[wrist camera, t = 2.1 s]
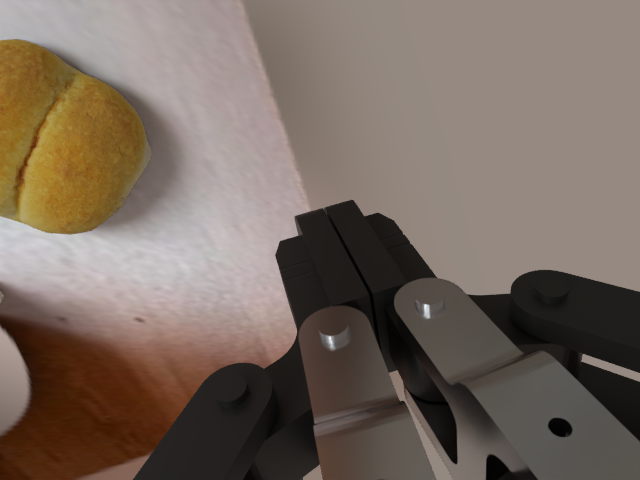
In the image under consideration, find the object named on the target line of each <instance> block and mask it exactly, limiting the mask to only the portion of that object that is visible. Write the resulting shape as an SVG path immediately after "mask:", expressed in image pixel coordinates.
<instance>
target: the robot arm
mask: <svg viewBox="0 0 640 480" xmlns="http://www.w3.org/2000/svg"><path fill="white" fill-rule="evenodd" d="M295 223H296V227H297V231H298V235H299V236H296V237H293V238H289V239H286V240H282V241H280V243H279V246H278V249H277V252H276V255H275V256H276V259H277V263H278V266H279V270H280V273H281V277H282V281H283V284H284V288H285V291H286V295H287V298H288V302H289V305H290V308H291V311H292V315H293V318H294V321H295V324H296V328H297V336H296V339H295V342H294V344H293V345H292V347H291V348H290V349H289V351H288V352H287V353H286V354H285V355H284V356H283V357H281V358H280V359H279V360H277V361H276V362H274V363H273V364H271V365H269V366H268V367H266V368H265V369H263V368H261V367H260V366H258V365H255V364H251V363H236V364H232V365H228V366H226V367H223V368H221V369H219V370H217V371H216V372H214V373H213V374H212V375H210V376H209V377H208V378H207V379H206V380H205V381H204V382H203V383H202V385H201V386H200V387H199V389H198V390H197V391H196V393H195V394H194V396H193V397H192V398H191V400H190V401H189V403H188V404H187V405H186V407H185V408H184V410H183V411H182V412H181V414H180V415H179V416H178V418H177V419H176V421H175V422H174V423H173V425H172V426H171V428H170V429H169V430H168V432H167V433H166V435H165V436H164V437H163V439H162V440H161V441H160V443H159V444H158V446H157V447H156V448H155V450H154V451H153V453H152V454H151V455H150V457H149V458H148V460H147V461H146V462H145V464H144V465H143V467H142V468H141V469H140V471H139V472H138V473H137V475H136V476H135V478H134V479H133V480H303V477H304V476H305V475H306V474H308V473H309V472H310V471H312V470H313V469H314V468H316V467H317V466H318V465H319V464H320V467H321V472H322V478H323V480H436V478H435V475H434V472H433V470H432V467H431V464H430V462H429V460H428V457H427V454H426V452H425V449H424V447H423V444H422V441H421V439H420V436H419V434H418V431H417V429H416V426H415V424H414V421H413V419H412V416H411V414H410V411H409V409H408V407H407V405H406V403H405V402H404V401H400V400H399V398H398V396H397V393H396V391H395V388H394V385H393V383H392V380H391V377H390V375H389V372H392V371H396V370H398V372H399V374H400V376H401V378H402V380H403V384H404V393H405V398H406V400H407V403H408V404H409V406H410V408H411V409H412V411H413V413H414V414H415V416H416V418H417V419H418V421H419V423H420V424H421V426H422V428H423V429H424V431H425V433H426V434H427V436H428V438H429V439H430V441H431V443H432V444H433V446H434V448H435V449H436V451H437V452H438V454H439V456H440V458H441V459H442V461H443V462H444V464H445V466H446V468H447V469H448V471H449V473H450V475H451V476H452V479H453V480H640V382H638V381H635V380H633V379H629V378H627V377H624V376H621V375H618V374H615V373H612V372H610V371H607V370H604V369H601V368H598V367H595V366H593V365H589V364H587V363H584V362H581V360H582V355H583V354H586V355H589V356H592V357H594V358H597V359H601V360H603V361H606V362H609V363H612V364H615V365H618V366H621V367H624V368H627V369H630V370H633V371H636V372H639V373H640V292H638V291H633V290H630V289H626V288H622V287H618V286H614V285H610V284H606V283H603V282H599V281H594V280H591V279H587V278H583V277H579V276H575V275H571V274H568V273H563V272H559V271H553V270H538V271H532V272H528V273H525V274H523V275H521V276H519V277H518V278H517V279H516V280H515V281H514V282H513V284H512V286H511V293H510V294H498V295H482V296H481V295H467V294H466V293H464V291H463V290H462V289H461V288H460V287H459V286H457V285H456V284H454V283H452V282H450V281H447V280H443V279H439V278H437V277H436V276H435V275H434V273H433V272H432V270H431V269H430V268H429V266H428V265H427V264H426V263H425V261H424V260H423V259H422V257H421V256H420V255H419V253H418V252H417V251H416V249H415V248H414V247H413V245H412V244H410V242H409V240H408V239H407V237H406V236H405V235H403V233H402V231H401V230H400V229H399V227H398V226H397V224H396V223H395V222H394V220H392V219H390V218H388V217H386V216H384V215H382V214H380V213H375V214H372V215H368V216H365V217H364V215H363V214H362V212H361V211H360V209H359V208H358V206H357V205H356V203H355V202H354V201H353V200H349V201H346V202H342V203H339V204H335V205H332V206H329V207H325V208H324V209H323V208H322V209H318V210H315V211H311V212H307V213H304V214H300V215H297V216H295Z"/></svg>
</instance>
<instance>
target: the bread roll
mask: <svg viewBox="0 0 640 480" xmlns="http://www.w3.org/2000/svg"><path fill="white" fill-rule="evenodd" d="M151 154H152V150H151V147H150V145H149V143H148V140H147V138H146V133H145V129H144V125H143V123H142V121H141V119H140V117H139V115H138V113H137V112H136V111H135V109H134V108H133V107H132V106H131V105H130V104H129V103H128V102H127V101H126V99H125V98H124V97H123V96H122V95H121V94H120V93H119V92H118V91H116V90H115V89H114V88H112V87H111V86H109V85H108V84H106V83H104V82H102V81H100V80H98V79H96V78H94V77H91V76H89V75H86V74H84V73H82V72H80V71H78V70H77V69H75V68H73V67H71V66H69V65H68V64H66V63H65V62H64V61H63V60H62V59H60V58H59V57H58V56H56V55H55V54H53V53H52V52H50V51H48V50H47V49H45V48H43V47H41V46H39V45H36V44H34V43H31V42H28V41H25V40H18V39H12V40H1V41H0V216H2V217H5V218H8V219H12V220H15V221H18V222H21V223H24V224H26V225H29V226H31V227H33V228H36V229H38V230H41V231H44V232H47V233H59V234H77V233H82V232H87V231H92V230H93V229H95V228H96V227H97V226H99V225H100V224H102V223H103V222H104V221H106V220H107V219H108V218H109V217H111V216H112V215H113V214H114V213H116V212H117V211H118V210H119V209H120V208H121V207H122V206H123V203H124V201H125V199H126V197H127V196H128V195H129V193H130V192H131V190H132V188H133V186H134V184H135V183H136V182H137V181H138V179H139V178H140V176H141V175H142V173H143V171H144V169H145V167H146V165H147V164H148V163H149V161H150V158H151Z"/></svg>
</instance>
